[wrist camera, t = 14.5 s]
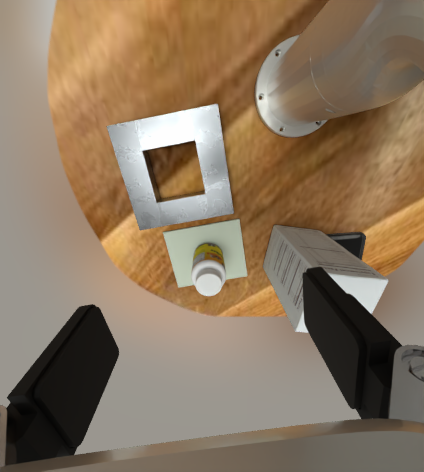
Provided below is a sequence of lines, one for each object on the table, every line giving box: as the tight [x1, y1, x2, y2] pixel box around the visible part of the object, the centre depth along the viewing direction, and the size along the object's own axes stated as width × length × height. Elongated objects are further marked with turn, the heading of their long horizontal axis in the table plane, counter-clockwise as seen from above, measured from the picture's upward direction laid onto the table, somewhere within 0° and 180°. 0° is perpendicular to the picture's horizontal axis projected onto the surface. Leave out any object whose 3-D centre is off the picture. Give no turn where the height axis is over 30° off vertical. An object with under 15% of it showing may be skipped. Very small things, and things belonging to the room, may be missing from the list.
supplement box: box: [263, 225, 388, 333], centre depth 35 cm, size 10×9×17 cm
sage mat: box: [163, 218, 247, 287], centre depth 42 cm, size 14×12×1 cm
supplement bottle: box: [191, 242, 226, 296], centre depth 37 cm, size 6×6×10 cm
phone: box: [325, 232, 366, 260], centre depth 43 cm, size 8×1×15 cm
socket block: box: [107, 104, 234, 230], centre depth 35 cm, size 16×16×3 cm
